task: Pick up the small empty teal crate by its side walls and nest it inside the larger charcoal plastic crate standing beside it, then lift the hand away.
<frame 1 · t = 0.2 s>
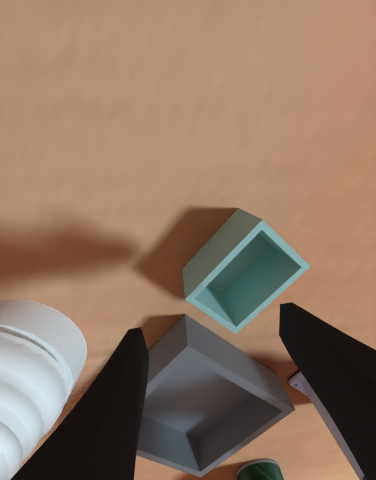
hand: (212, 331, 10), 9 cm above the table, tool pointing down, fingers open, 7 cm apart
teal crate: (228, 256, 19), on the table
charcoal crate: (191, 384, 24), on the table
honey pot: (26, 346, 20), on the table
canned tomato: (256, 469, 33), on the table
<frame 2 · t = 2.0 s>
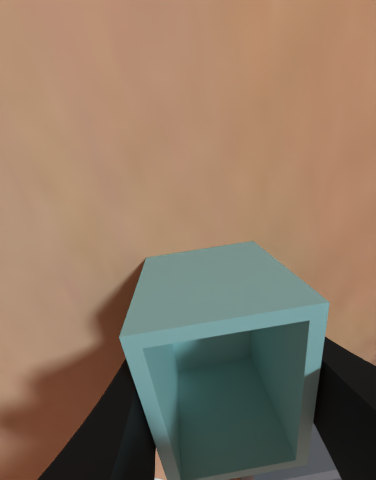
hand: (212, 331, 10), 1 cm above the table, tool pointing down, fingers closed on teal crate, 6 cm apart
teal crate: (207, 311, 11), on the table, touching gripper
charcoal crate: (327, 442, 16), on the table
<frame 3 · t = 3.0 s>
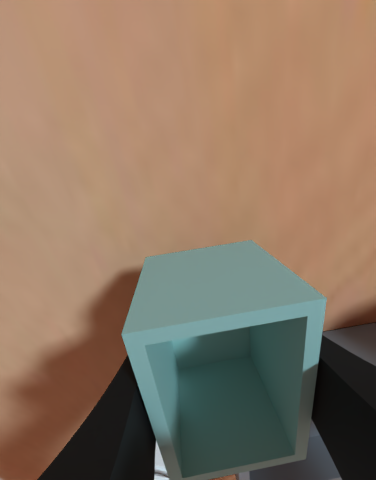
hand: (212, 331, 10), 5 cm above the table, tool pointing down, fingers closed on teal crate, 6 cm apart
teal crate: (207, 310, 11), point 4 cm above the table, touching gripper
charcoal crate: (297, 391, 20), on the table
honey pot: (136, 452, 22), on the table
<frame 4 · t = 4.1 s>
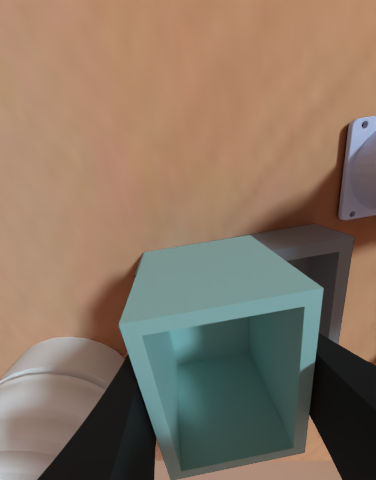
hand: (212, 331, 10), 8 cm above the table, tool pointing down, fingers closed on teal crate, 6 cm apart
teal crate: (206, 306, 11), point 7 cm above the table, touching gripper
charcoal crate: (235, 309, 20), on the table
honey pot: (76, 378, 21), on the table
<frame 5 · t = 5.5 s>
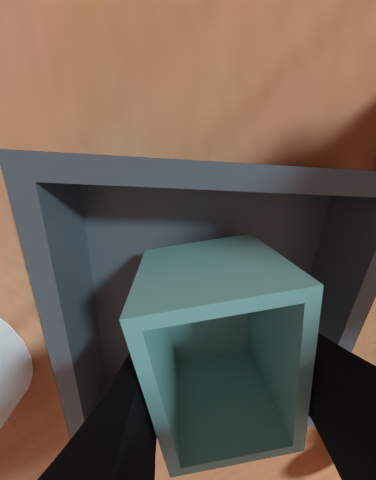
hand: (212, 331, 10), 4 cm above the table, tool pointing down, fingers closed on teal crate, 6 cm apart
teal crate: (206, 304, 11), point 2 cm above the table, touching gripper
charcoal crate: (202, 289, 13), on the table
when the fingers open (4 cm above the table, at t = 6.5 s): teal crate stays where it is, resting on charcoal crate.
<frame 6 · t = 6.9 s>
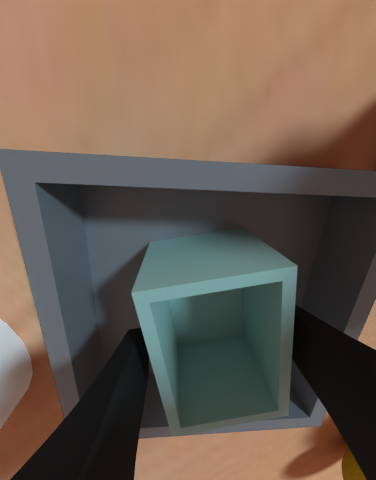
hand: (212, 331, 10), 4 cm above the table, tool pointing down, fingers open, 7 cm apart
teal crate: (204, 292, 12), point 1 cm above the table, touching charcoal crate
charcoal crate: (202, 289, 13), on the table
lemon: (345, 439, 21), on the table
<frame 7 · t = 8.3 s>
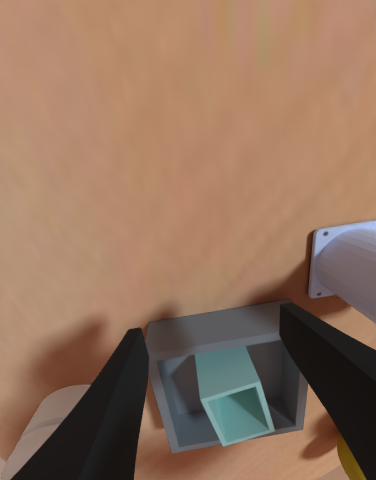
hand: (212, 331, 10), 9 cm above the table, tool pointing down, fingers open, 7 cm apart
teal crate: (226, 366, 22), point 1 cm above the table, touching charcoal crate
charcoal crate: (224, 362, 23), on the table
lemon: (340, 429, 31), on the table
honey pot: (89, 415, 25), on the table
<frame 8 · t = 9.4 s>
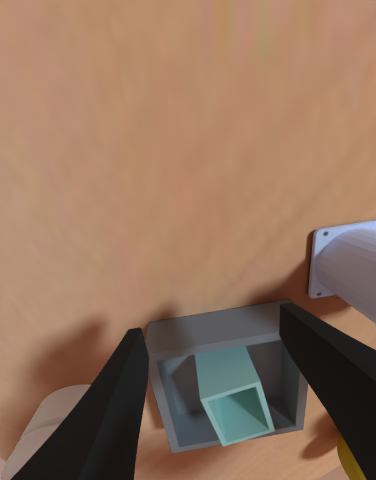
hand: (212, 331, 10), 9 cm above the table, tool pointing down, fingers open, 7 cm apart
teal crate: (226, 366, 22), point 1 cm above the table, touching charcoal crate
charcoal crate: (224, 362, 23), on the table
lemon: (340, 429, 31), on the table
honey pot: (89, 415, 25), on the table
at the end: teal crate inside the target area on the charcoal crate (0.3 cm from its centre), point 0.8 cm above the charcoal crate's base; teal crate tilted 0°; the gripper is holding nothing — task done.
